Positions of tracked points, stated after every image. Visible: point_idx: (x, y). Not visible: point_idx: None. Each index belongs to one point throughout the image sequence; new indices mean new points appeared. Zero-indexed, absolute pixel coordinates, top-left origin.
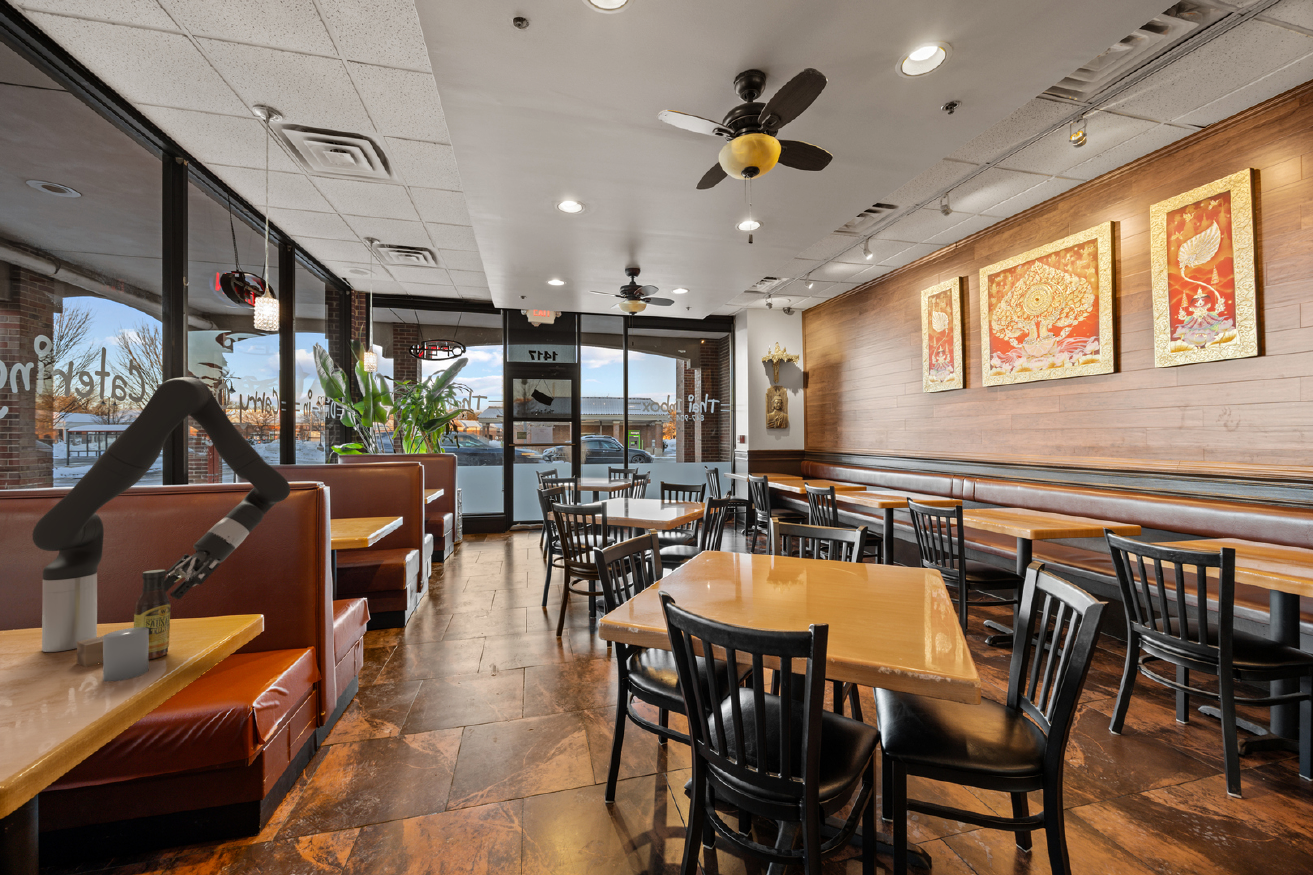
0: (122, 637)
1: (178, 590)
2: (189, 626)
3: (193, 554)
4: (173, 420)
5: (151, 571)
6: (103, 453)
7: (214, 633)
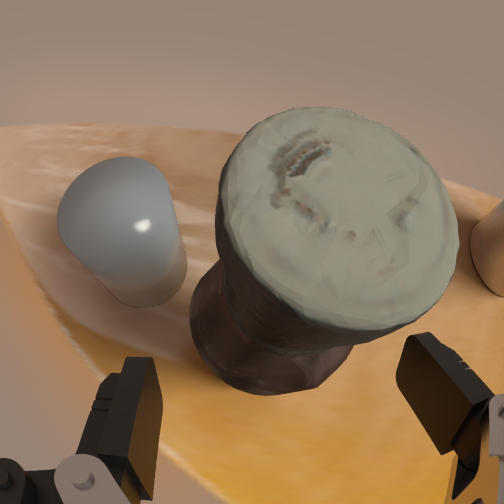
0: (71, 186)
1: (110, 396)
2: None
3: None
4: None
5: (355, 167)
6: None
7: None
